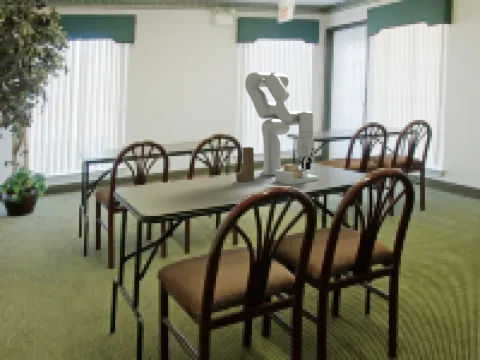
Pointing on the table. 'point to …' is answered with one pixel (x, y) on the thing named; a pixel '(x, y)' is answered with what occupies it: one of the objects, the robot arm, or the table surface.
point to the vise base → (299, 180)
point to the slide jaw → (303, 171)
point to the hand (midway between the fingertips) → (306, 168)
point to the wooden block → (247, 166)
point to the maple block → (292, 169)
